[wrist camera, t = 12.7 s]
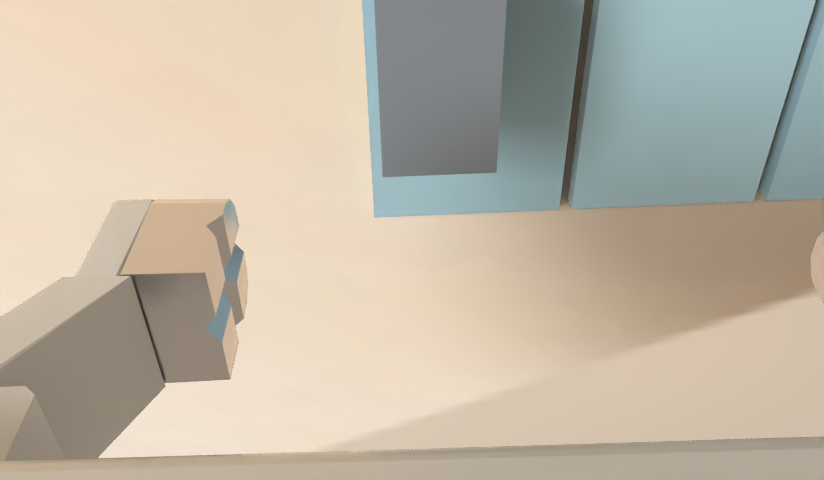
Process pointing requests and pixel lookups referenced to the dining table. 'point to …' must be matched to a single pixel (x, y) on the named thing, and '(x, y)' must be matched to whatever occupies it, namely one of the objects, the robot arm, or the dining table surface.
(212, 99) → the dining table surface
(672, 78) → the blue grooved panel
